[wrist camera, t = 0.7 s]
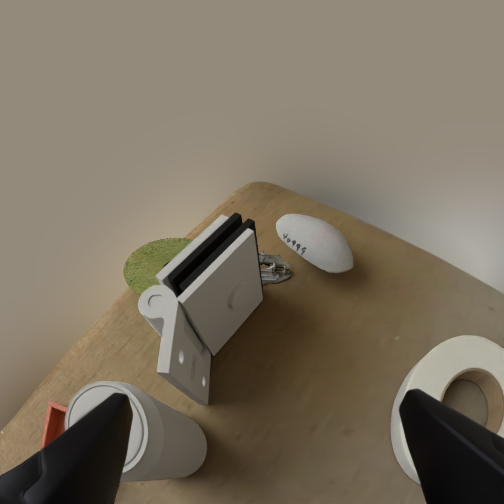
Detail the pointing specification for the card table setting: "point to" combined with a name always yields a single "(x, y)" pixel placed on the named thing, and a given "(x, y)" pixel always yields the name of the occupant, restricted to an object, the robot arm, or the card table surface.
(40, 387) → the card table surface
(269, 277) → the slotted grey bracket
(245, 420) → the card table surface
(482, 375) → the tape roll
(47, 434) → the terracotta tray
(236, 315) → the hinge
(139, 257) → the green disc with hole
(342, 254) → the stone
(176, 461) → the beverage can
